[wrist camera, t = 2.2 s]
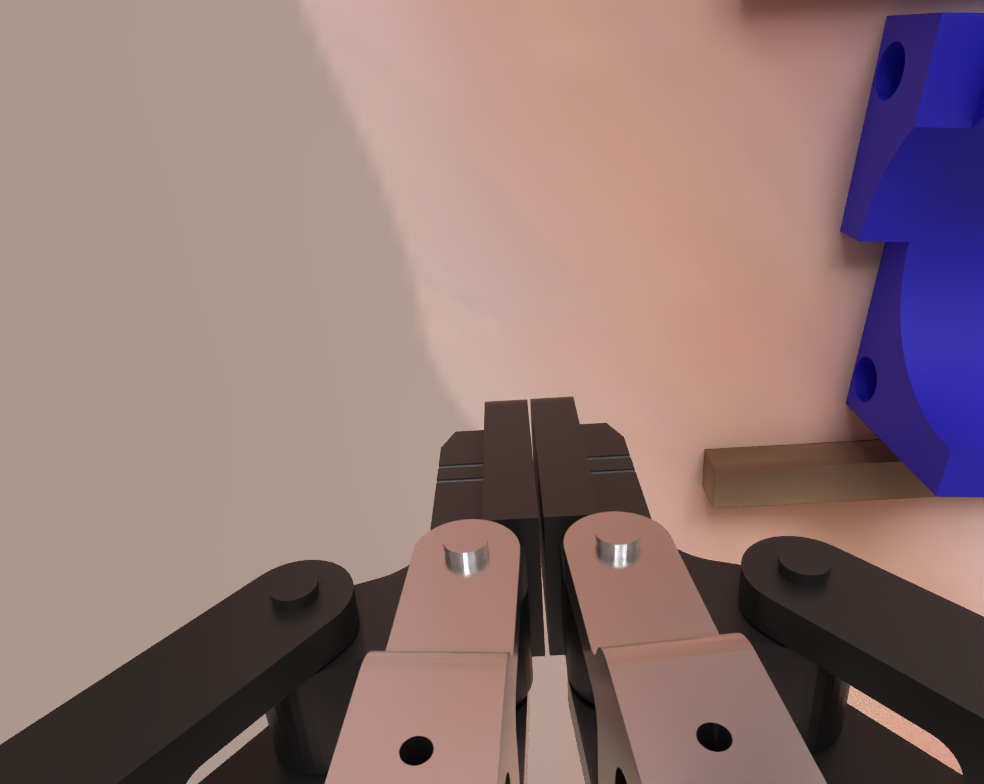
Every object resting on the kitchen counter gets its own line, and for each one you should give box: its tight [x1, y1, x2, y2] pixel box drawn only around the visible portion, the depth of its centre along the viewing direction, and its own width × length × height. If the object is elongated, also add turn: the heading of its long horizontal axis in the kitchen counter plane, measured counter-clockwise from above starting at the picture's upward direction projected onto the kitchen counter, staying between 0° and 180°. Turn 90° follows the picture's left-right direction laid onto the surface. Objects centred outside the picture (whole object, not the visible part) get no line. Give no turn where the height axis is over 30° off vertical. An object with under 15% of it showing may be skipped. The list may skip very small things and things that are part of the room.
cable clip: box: [840, 13, 984, 497], centre depth 21 cm, size 12×4×6 cm, turn 179°
